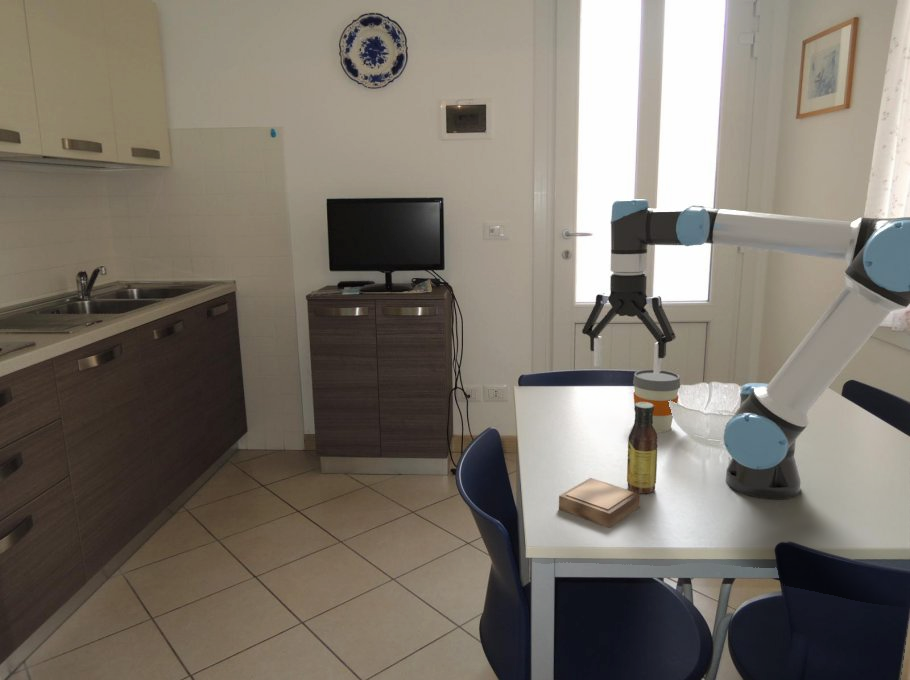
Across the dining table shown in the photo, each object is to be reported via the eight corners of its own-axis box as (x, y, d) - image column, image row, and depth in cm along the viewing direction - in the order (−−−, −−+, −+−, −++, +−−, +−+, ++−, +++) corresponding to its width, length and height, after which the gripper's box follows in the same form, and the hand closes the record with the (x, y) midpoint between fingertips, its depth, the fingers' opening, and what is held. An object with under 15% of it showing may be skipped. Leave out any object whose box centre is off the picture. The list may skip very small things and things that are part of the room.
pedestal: (639, 506, 140) (640, 492, 140) (609, 527, 132) (609, 512, 131) (590, 490, 148) (590, 476, 148) (558, 508, 140) (559, 494, 139)
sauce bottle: (633, 480, 153) (637, 397, 149) (660, 487, 149) (665, 402, 145) (621, 490, 148) (624, 404, 144) (647, 498, 144) (652, 410, 140)
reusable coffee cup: (687, 430, 185) (690, 377, 182) (652, 437, 180) (654, 383, 176) (655, 416, 196) (658, 367, 193) (621, 423, 191) (623, 372, 187)
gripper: (692, 272, 139) (689, 371, 144) (581, 269, 153) (581, 359, 158) (682, 276, 133) (678, 379, 138) (567, 272, 147) (567, 366, 152)
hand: (626, 369), depth 148 cm, fingers open, 13 cm apart
